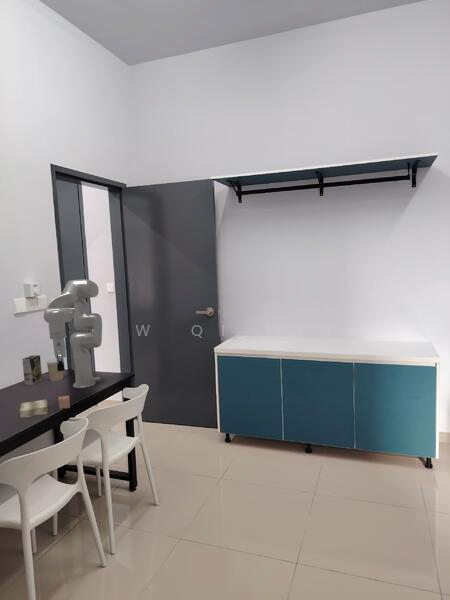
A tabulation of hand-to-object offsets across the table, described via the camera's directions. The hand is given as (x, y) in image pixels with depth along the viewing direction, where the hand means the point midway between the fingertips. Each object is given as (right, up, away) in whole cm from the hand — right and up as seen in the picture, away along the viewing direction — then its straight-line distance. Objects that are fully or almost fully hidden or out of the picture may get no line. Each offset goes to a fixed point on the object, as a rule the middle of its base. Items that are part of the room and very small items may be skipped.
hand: (60, 368), depth 213 cm
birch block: (-12, -21, -3) cm, 25 cm away
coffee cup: (-23, -15, +52) cm, 59 cm away
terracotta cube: (+1, -20, +2) cm, 20 cm away
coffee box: (-35, -16, +47) cm, 61 cm away
